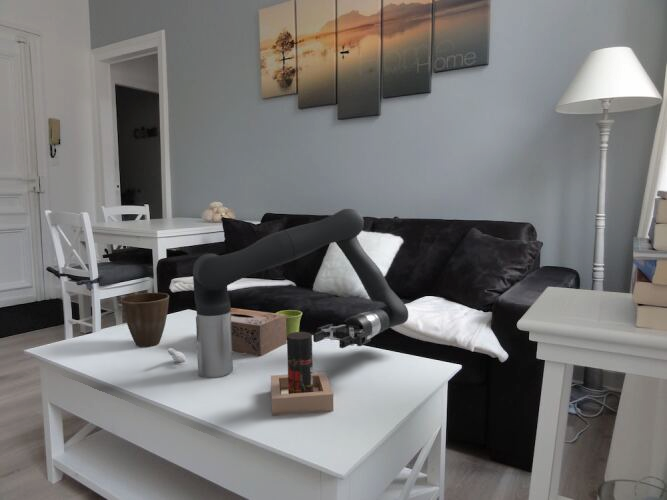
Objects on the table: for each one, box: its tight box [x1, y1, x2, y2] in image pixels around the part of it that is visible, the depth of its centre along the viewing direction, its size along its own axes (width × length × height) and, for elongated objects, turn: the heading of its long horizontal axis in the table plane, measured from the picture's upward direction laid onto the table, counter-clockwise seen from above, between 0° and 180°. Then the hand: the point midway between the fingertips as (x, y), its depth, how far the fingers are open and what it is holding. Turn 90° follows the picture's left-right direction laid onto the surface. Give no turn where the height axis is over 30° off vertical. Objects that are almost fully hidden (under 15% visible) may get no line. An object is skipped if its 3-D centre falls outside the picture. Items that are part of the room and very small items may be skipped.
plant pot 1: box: [120, 292, 170, 348], centre depth 163 cm, size 15×15×16 cm
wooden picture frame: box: [270, 371, 334, 416], centre depth 118 cm, size 14×14×4 cm
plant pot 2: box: [275, 309, 303, 337], centre depth 168 cm, size 9×9×9 cm
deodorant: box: [286, 331, 314, 394], centre depth 118 cm, size 6×6×15 cm
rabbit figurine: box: [167, 347, 186, 366], centre depth 144 cm, size 6×4×8 cm
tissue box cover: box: [195, 307, 287, 357], centre depth 162 cm, size 26×14×10 cm, turn 63°
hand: (327, 341), depth 126 cm, fingers open, 8 cm apart
